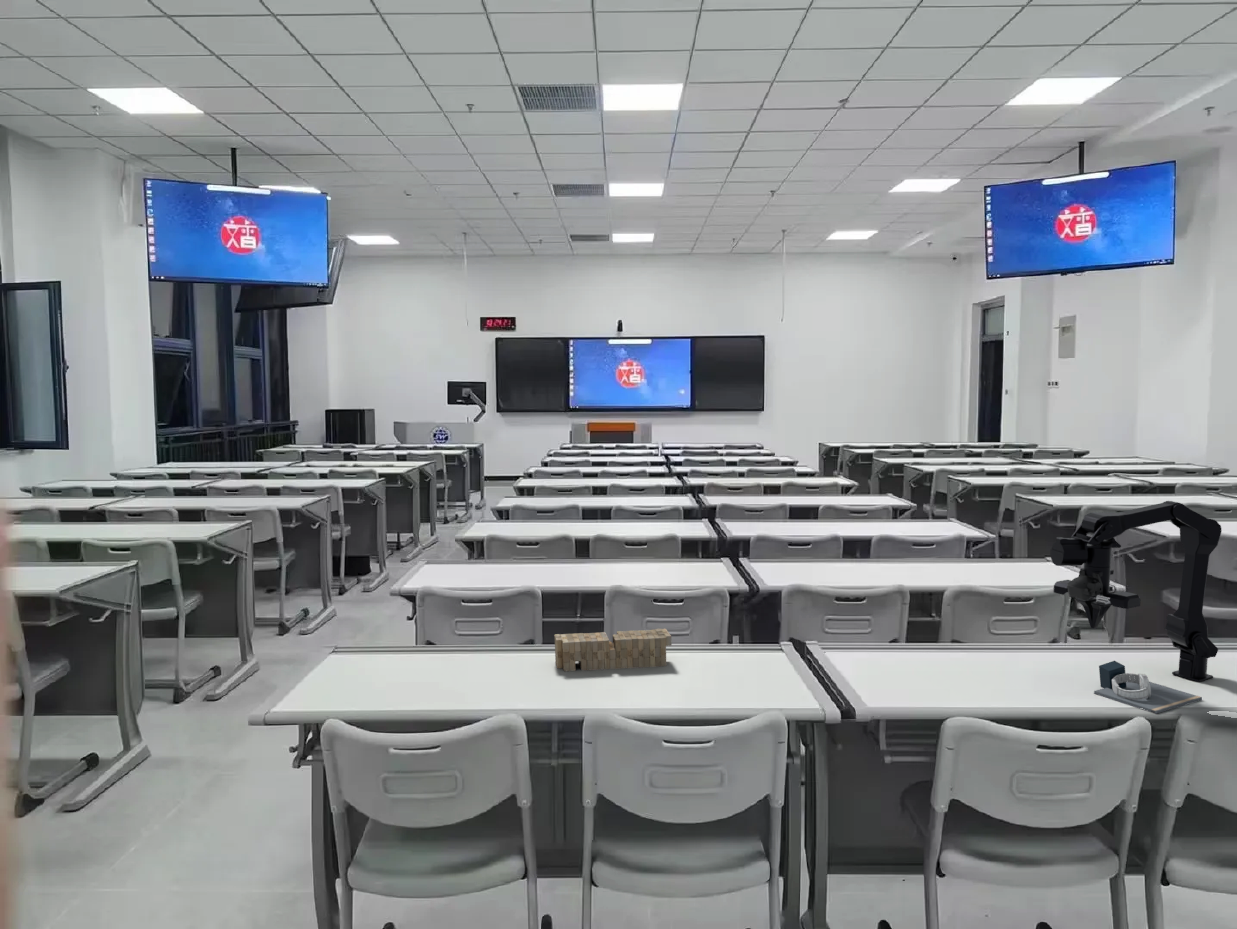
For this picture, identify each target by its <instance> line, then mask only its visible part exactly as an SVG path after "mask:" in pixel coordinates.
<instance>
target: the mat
mask: <svg viewBox="0 0 1237 929" xmlns="http://www.w3.org/2000/svg"><path fill="white" fill-rule="evenodd" d="M1149 683H1150V688H1151V696H1150V697H1148V698H1144V699H1140V700H1137V699H1136V700H1132V699H1126V698H1123V697H1120V696H1119V695H1116V694H1115V692H1114V691H1113V689H1109V688H1100V689H1096V690H1094V691H1093V694H1095V695H1098V696H1101V697H1104V698H1107V699H1110V700H1112V701H1115V702H1119V703H1122V704H1125V705H1128V706H1131V707H1135V708H1138V709H1140V708H1143V709H1145V710H1144V711H1146V710H1148V711H1147V712H1149V713H1153V714H1160V713H1163V712H1166V710H1167V711H1169V710H1168V709H1170V710H1173V709H1176V708H1179V707H1183V706H1186V705H1189V704H1192V703H1196V702H1199V701H1202V700H1203V697H1202V696H1199V695H1195V694H1193V693H1189V692H1186V691H1182V690H1179V689H1176V688H1172V687H1169V686H1166V685H1162V684H1159V683H1156V682H1152V681H1149ZM1121 689H1124V690H1135V691H1136V690H1140V687H1139V684H1137V683H1130V682H1126V687H1125V688H1121ZM1134 694H1135V693H1134ZM1172 708H1173V709H1172ZM1143 709H1142V710H1143Z"/></svg>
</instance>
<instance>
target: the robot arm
mask: <svg viewBox="0 0 1237 929" xmlns="http://www.w3.org/2000/svg"><path fill="white" fill-rule="evenodd" d="M1167 521H1169V522H1170V523H1171V524H1172V525H1174V526H1175V527H1177V528H1178V529H1179V539H1180V542H1181V544H1182V547H1183V549H1184V560H1183V569H1182V577H1181V583H1180V592H1179V600H1178V601H1179V602H1178V607H1177V610H1176V611H1174V612H1173V614H1172V613H1167V615H1166V625H1165V627H1164V630H1166V635H1167V637H1168V638H1169V639H1170V641H1171V644H1172V646H1173V648H1177V649H1179V659H1178V661H1179V662H1178V670H1174V671H1172V672H1171V674H1172V675H1174V676H1178V677H1181V678H1185V679H1188V680H1192V681H1195V682H1203V681H1207V680H1210V679H1213V678H1214V676H1213V675H1212V674H1208V673H1207V671H1208V661H1209V660H1208V659H1210V658H1215V657H1216V656H1217V654H1218V651H1219V648H1218V647H1217V646H1216V645H1215V644H1214V643H1213V642H1212V641H1211V640H1210V638H1209V630H1208V623H1207V621H1206V619H1205V616H1204V614H1203V613H1204V612H1203V610H1204V601H1205V593H1206V586H1207V585H1206V584H1207V579H1208V578H1207V577H1208V571H1209V570H1208V568H1209V561H1210V555H1211V554H1212V552H1213V551H1214V550H1215V548H1217V546H1218V545H1219V542H1220V538H1221V535H1222V525H1221V524H1220V523H1219V522H1218V521H1217V520H1215V519H1213V518H1208V517H1205V516H1204V515H1202V514H1200V513H1199V512H1196V511H1194V510H1192V509H1190V508H1189V507H1187V506H1186V505H1184V504H1183V503H1182V502H1179V501H1178V502H1177V501H1173V500H1166V501H1163V502H1161V503H1156V504H1151V505H1147V506H1142V507H1138V508H1134V509H1133V508H1132V509H1128V510H1124V511H1119V512H1117V511H1115V512H1111V511H1110V512H1107V511H1100V512H1099V511H1098V512H1096V511H1095V512H1089V513H1086V514H1085V515H1084V517H1083V518H1082V520H1081V523H1080V524H1079V526H1078V527H1077V528H1076V529H1075V531H1074V532H1073V534H1072V535H1071V536H1070V537H1061V536H1057V537H1055V538H1056V541H1055V542H1054V543H1053V544H1052V546H1051V549H1050V554H1049V555H1050V559H1051V562H1052V564H1054V565H1055V566H1058V567H1059V566H1060V567H1061V566H1062V567H1063V566H1065V567H1067V566H1068V567H1069V566H1070V567H1071V566H1073V567H1076V566H1077V567H1078V566H1082V565H1083V567H1082V568H1080V569H1079V573H1078V576H1077V577H1074V578H1073V579H1072V580H1071V579H1065V580H1059V581H1056V582H1055V583H1054V584H1053V590H1052V592H1053V593H1055V594H1059V595H1062V596H1063V595H1066V594H1068V597H1069V598H1072V599H1073V598H1074V600H1075V601H1076V602H1078V604H1080V605H1081V606H1082V607H1083V609H1084V612H1085V614H1086V617H1087V620H1088V623H1089V626H1090V629H1093V630H1095V629H1097V628H1098V626H1099V625H1100V623H1101V622H1102V620H1103V618H1104V616H1105V615H1106V613H1107V612H1108V610H1110V608H1111V607H1115V608H1119V609H1124V610H1125V609H1126V610H1128V609H1133V608H1137V607H1141V597H1140V595H1138V594H1137V593H1132V592H1127V591H1119V592H1114V593H1113V591H1114V590H1113V589H1114V587H1113V586H1110V584H1111V582H1110V581H1111V575H1112V576H1113V575H1114V569H1111V565H1112V549H1121V547H1122V544H1120V543H1119V542H1118V541H1117V540H1116V539H1115V538H1116V537H1118V536H1121V535H1122V534H1124V533H1125V532H1126V531H1128V530H1130V529H1135V528H1140V527H1144V526H1148V525H1152V524H1153V525H1154V524H1158V523H1162V522H1167Z"/></svg>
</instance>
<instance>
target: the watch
mask: <svg viewBox="0 0 1237 929" xmlns="http://www.w3.org/2000/svg"><path fill="white" fill-rule="evenodd" d="M1098 671H1099V672H1098V673H1099V681H1100V687H1101V689H1104V688H1109V689H1113V691H1114V692H1115V694H1116V695H1119V696H1120V697H1123V698H1126V699H1132V700H1136V699H1137V700H1140V699H1144V698H1148V697H1150V696H1151V688H1150V683H1149V682H1150V681H1149V677H1148V676H1147V675H1146V674H1145V673H1142V674H1141V673H1130V672H1129V673H1128V672H1127V673H1126V666H1125V665H1124V664H1123V663H1120V662H1118V661H1116V660H1112V661H1110V662H1106V663H1103V664H1101V665H1098ZM1126 682H1130V683H1137V684H1139V687H1140V690H1136V691H1135V690H1124V689H1121V688H1125V687H1126ZM1134 693H1135V694H1134Z"/></svg>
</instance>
